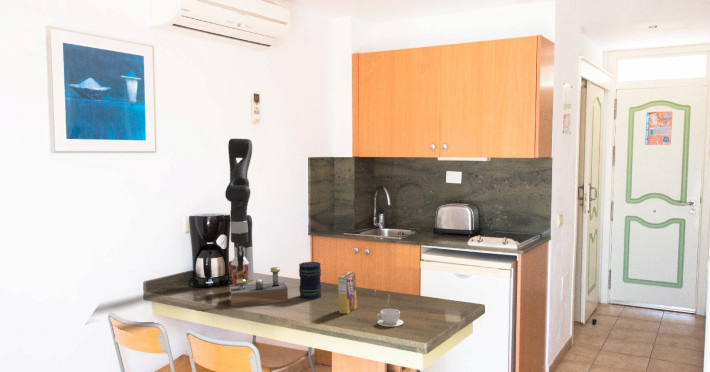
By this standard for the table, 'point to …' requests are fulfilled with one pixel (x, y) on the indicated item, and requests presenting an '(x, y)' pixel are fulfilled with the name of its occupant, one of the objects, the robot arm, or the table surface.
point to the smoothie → (239, 271)
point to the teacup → (390, 318)
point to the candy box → (347, 292)
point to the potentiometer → (259, 285)
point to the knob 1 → (241, 283)
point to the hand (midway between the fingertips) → (240, 269)
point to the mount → (259, 294)
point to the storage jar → (310, 280)
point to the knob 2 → (275, 275)
